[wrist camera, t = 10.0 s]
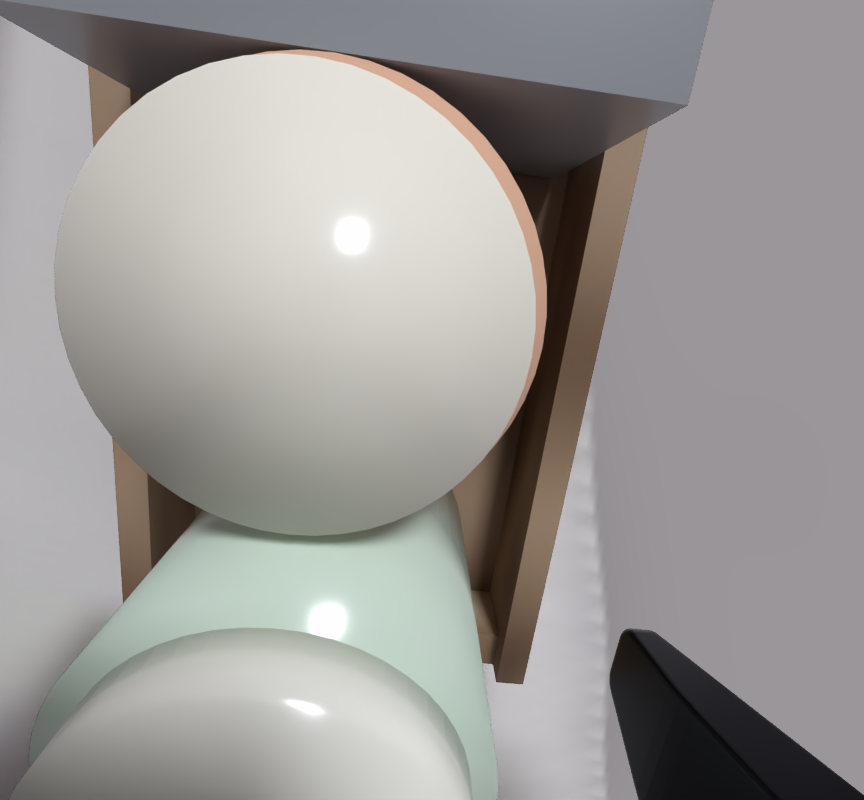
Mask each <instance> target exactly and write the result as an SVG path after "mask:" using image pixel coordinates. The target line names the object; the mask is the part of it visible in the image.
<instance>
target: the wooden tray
mask: <svg viewBox="0 0 864 800" xmlns="http://www.w3.org/2000/svg"><path fill="white" fill-rule="evenodd" d="M88 70H89V86H90V101H91V116H92V132H93V147H95V145H96V144H97V142H98V141H99V139H100V138H101V137H102V136H103V135H104V134H105V133H106V131H107V130H108V129H109V128H110V127H111V126H112V125H113V123H114V122H115V121H116V120H117V119H118V118H119V117H120V115H122V114H123V113H124V112H125V111H126V110H128V109H129V108H130V107H131V106H132V105H134V104H135V103H136V102H137V101H138V100H140V99H141V98H142V97H143V96H142V95H140V94H139V93H137V92H135V91H133V90H132V89H130V88H128V87H126V86H124V85H123V84H121V83H119V82H117V81H116V80H114V79H112V78H110V77H108V76H107V75H105V74H103V73H101V72H100V71H98V70H96V69H94V68H93V67H91V66H89V65H88ZM647 129H648V128H646V129H644V130H642V131H640V132H638V133H637V134H635V135H633V136H631V137H629V138H628V139H626V140H624V141H622V142H620V143H619V144H617V145H615V146H613V147H611V148H610V149H608V150H606V151H604V152H602V153H600V154H599V155H597V156H595V157H593V158H591V159H590V160H588V161H586V162H584V163H582V164H581V165H579V166H577V167H575V168H573V169H572V170H570V171H568V172H566V173H564V174H563V175H561V176H559V177H557V178H555V179H553V178H546V177H539V176H532V175H525V174H518V173H511V172H510V173H511V175H512V176H513V178H514V180H515V182H516V183H517V185H518V187H519V189H520V191H521V192H522V194H523V197H524V199H525V202H526V204H527V206H528V209H529V211H530V214H531V216H532V219H533V221H534V224H535V227H536V231H537V235H538V239H539V243H540V247H541V250H542V254H543V261H544V269H545V277H546V285H547V318H546V325H545V333H544V340H543V347H542V351H541V355H540V358H539V362H538V366H537V370H536V373H535V376H534V379H533V381H532V384H531V386H530V388H529V391H528V393H527V396H526V398H525V401H524V402H523V404H522V406H521V408H520V409H519V411H518V413H517V415H516V416H515V418H514V420H513V422H512V423H511V425H510V426H509V428H508V429H507V430H506V432H505V433H504V434H503V436H502V437H501V438H500V440H499V441H498V442H497V444H496V445H495V446H494V447H493V448H492V449H491V450H490V451H489V453H488V454H487V455H486V456H485V458H484V459H483V460H482V461H481V462H480V463H479V464H478V465H477V466H476V467H475V468H474V469H473V470H472V471H471V472H470V473H469V474H468V476H467V477H466V478H465V479H464V480H462V481H461V482H460V483H459V484H457V485H456V486H455V487H453V488H452V491H453V493H454V496H455V499H456V501H457V504H458V509H459V513H460V518H461V525H462V532H463V538H464V545H465V552H466V558H467V565H468V572H469V578H470V585H471V592H472V599H473V605H474V612H475V619H476V625H477V632H478V639H479V645H480V652H481V659H482V663H488V664H493V666H494V672H495V678H496V682H502V683H514V684H523V681H524V677H525V672H526V668H527V663H528V659H529V654H530V650H531V645H532V641H533V636H534V632H535V628H536V623H537V619H538V614H539V610H540V605H541V601H542V596H543V592H544V588H545V583H546V579H547V574H548V570H549V565H550V561H551V556H552V552H553V548H554V543H555V539H556V534H557V530H558V525H559V521H560V516H561V512H562V508H563V503H564V499H565V494H566V490H567V485H568V481H569V476H570V472H571V468H572V463H573V459H574V454H575V450H576V445H577V441H578V436H579V432H580V428H581V423H582V419H583V414H584V410H585V405H586V401H587V396H588V392H589V388H590V383H591V379H592V374H593V370H594V365H595V361H596V356H597V351H598V348H599V343H600V339H601V334H602V329H603V325H604V321H605V316H606V312H607V308H608V303H609V299H610V294H611V290H612V285H613V281H614V276H615V272H616V267H617V263H618V259H619V254H620V249H621V245H622V241H623V236H624V232H625V227H626V223H627V219H628V214H629V209H630V205H631V201H632V196H633V191H634V187H635V182H636V179H637V174H638V170H639V165H640V161H641V156H642V152H643V147H644V143H645V138H646V134H647ZM112 439H113V438H112ZM113 454H114V469H115V485H116V500H117V515H118V531H119V546H120V561H121V577H122V592H123V603H124V602H125V601H126V599H127V598H128V597H129V596H130V595H131V594H132V592H133V591H134V590H135V589H136V588H137V586H138V585H139V584H140V583H141V582H142V581H143V579H144V578H145V577H146V576H147V575H148V574H149V572H150V571H151V570H152V569H153V568H154V567H155V565H156V564H157V563H158V562H159V561H160V560H161V558H162V557H163V556H164V555H165V554H166V553H167V551H168V550H169V549H170V548H171V547H172V546H173V544H174V543H175V542H176V541H177V540H178V538H179V537H180V536H181V535H182V534H183V533H184V531H185V530H186V529H187V528H188V527H189V526H190V524H191V523H192V522H193V521H194V520H195V519H196V517H197V516H198V515H199V514H200V513H201V512H202V510H203V509H201V508H199V507H197V506H195V505H193V504H191V503H190V502H188V501H186V500H184V499H182V498H181V497H179V496H178V495H176V494H175V493H173V492H172V491H170V490H169V489H167V488H166V487H165V486H163V485H162V484H160V483H159V482H157V481H156V480H155V479H154V478H153V477H151V476H150V475H149V474H148V473H147V472H146V471H145V470H143V469H142V468H141V467H140V466H139V465H138V464H136V463H135V462H134V461H133V460H132V459H131V457H130V456H129V455H128V454H127V453H126V452H125V451H124V450H123V449H122V448H121V447H120V446H119V444H118V443H117V442H116V441H115V440H114V439H113Z"/></svg>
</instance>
